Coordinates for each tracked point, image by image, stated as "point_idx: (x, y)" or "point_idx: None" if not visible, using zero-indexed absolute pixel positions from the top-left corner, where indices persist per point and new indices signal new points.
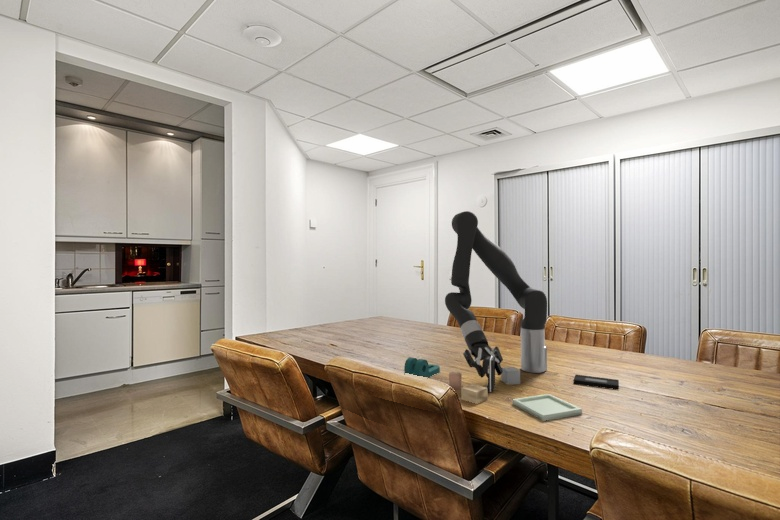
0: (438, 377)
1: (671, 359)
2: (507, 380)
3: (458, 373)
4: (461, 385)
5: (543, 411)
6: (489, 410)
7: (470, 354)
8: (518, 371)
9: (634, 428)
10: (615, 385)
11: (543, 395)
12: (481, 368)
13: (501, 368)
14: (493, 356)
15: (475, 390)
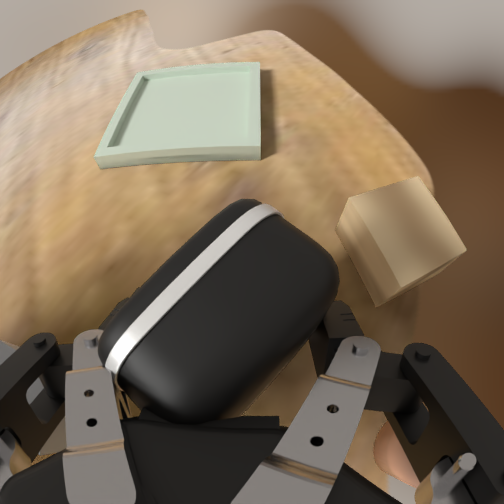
0: None
1: None
2: None
3: None
4: (386, 430)
5: (225, 86)
6: (371, 151)
7: (465, 433)
8: (7, 344)
9: (130, 48)
10: None
11: (124, 146)
12: (333, 314)
13: (115, 310)
14: (126, 314)
15: (416, 192)
